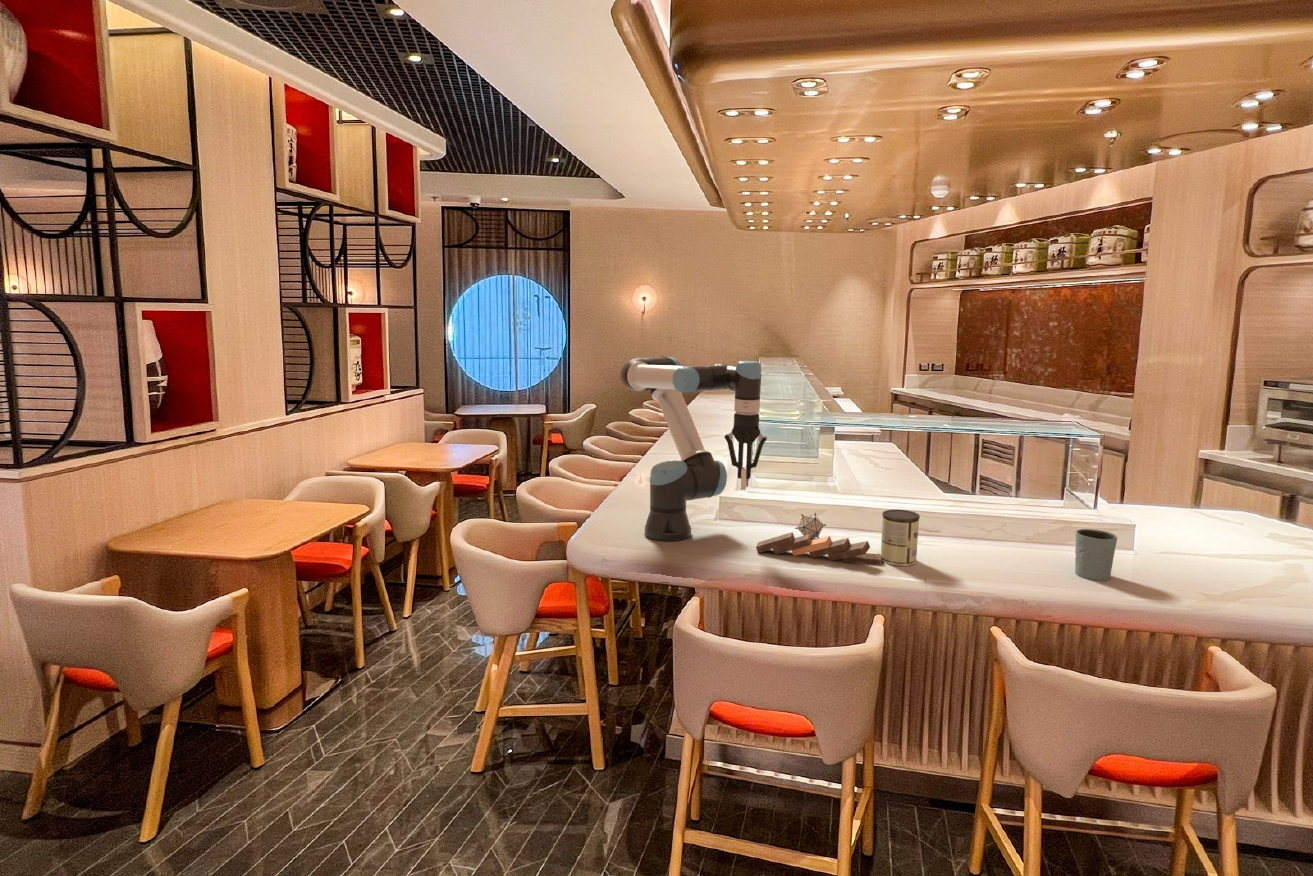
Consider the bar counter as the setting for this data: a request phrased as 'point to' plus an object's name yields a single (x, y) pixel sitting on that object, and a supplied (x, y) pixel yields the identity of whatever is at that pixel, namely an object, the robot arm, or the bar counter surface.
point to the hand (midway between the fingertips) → (743, 488)
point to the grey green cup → (1094, 554)
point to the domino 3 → (814, 546)
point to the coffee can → (899, 537)
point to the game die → (810, 526)
